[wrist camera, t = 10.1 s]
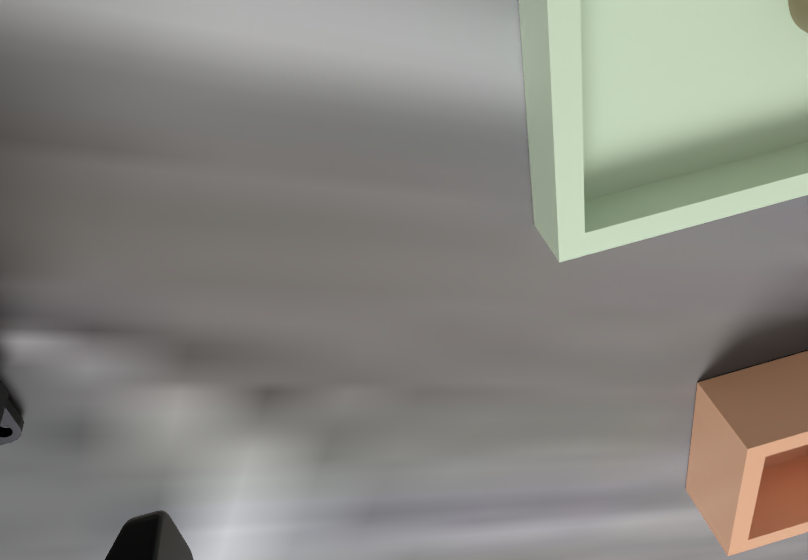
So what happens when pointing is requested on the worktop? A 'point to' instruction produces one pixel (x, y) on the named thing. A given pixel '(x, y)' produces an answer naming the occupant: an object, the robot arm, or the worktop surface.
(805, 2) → the dowel
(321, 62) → the worktop surface
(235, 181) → the worktop surface
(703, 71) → the sage tray
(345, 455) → the worktop surface
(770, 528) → the peach square box
